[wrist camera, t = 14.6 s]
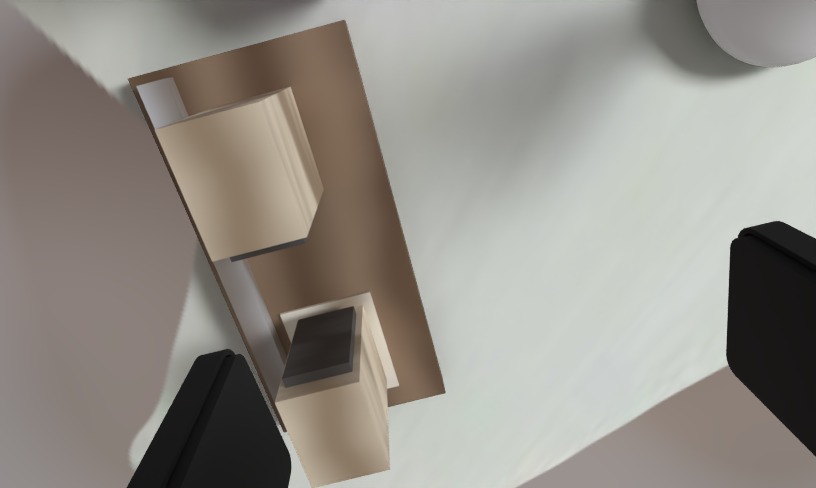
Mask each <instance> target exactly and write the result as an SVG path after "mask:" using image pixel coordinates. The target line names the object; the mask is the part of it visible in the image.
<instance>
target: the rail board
mask: <svg viewBox="0 0 816 488" xmlns="http://www.w3.org/2000/svg"><path fill="white" fill-rule="evenodd" d="M128 80H129V83H130V85H131V87H132V89H133V92H134V94H135V96H136V98H137V101H138V103H139V105H140V108H141V110H142V112H143V114H144V117H145V119H146V121H147V123H148V126H149V128H150V130H151V132H152V135H153V137H154V139H155V142H156V144H157V146H158V148H159V151H160V153H161V155H162V157H163V159H164V162H165V164H166V166H167V168H168V171H169V173H170V175H171V178H172V180H173V182H174V184H175V187H176V189H177V191H178V194H179V196H180V198H181V200H182V203H183V205H184V207H185V210H186V212H187V214H188V216H189V219H190V221H191V223H192V225H193V228H194V230H195V232H196V234H197V237H198V239H199V241H200V244H201V246H202V248H203V250H204V253H205V255H206V257H207V259H208V262H209V264H210V266H211V268H212V271H213V273H214V275H215V278H216V280H217V282H218V284H219V287H220V289H221V291H222V293H223V296H224V298H225V300H226V302H227V305H228V307H229V309H230V312H231V314H232V316H233V318H234V321H235V323H236V325H237V327H238V330H239V332H240V334H241V336H242V339H243V341H244V343H245V346H246V348H247V350H248V352H249V355H250V357H251V359H252V361H253V364H254V366H255V368H256V370H257V373H258V375H259V377H260V380H261V382H262V384H263V386H264V389H265V391H266V393H267V395H268V398H269V400H270V402H271V404H272V407H273V409H274V411H275V414H276V416H277V418H278V420H279V423H280V425H281V427H282V429H283V432H287V430H286V427H285V425H284V423H283V421H282V418H281V416H280V414H279V411H278V409H277V407H276V405H275V400H276V396H277V393H278V389H279V386H280V382H281V378H282V375H283V371H284V368H285V364H286V361H287V357H288V353H289V350H290V346H291V343H292V339H293V336H294V332H295V328H296V325H297V321H298V320H300V319H304V318H308V317H312V316H316V315H320V314H324V313H327V312H331V311H335V310H339V309H343V308H347V307H351V306H354V307H356V306H360V305H363V307H364V310H365V313H366V316H367V319H368V322H369V326H370V329H371V332H372V335H373V338H374V341H375V344H376V347H377V350H378V353H379V357H380V360H381V363H382V366H383V369H384V372H385V375H386V378H387V403H388V407H390V406H395V405H399V404H403V403H407V402H411V401H415V400H419V399H423V398H427V397H431V396H435V395H440V394H444V393H445V388H444V383H443V378H442V375H441V371H440V367H439V364H438V360H437V356H436V353H435V349H434V345H433V341H432V338H431V334H430V330H429V327H428V323H427V319H426V316H425V312H424V308H423V305H422V301H421V297H420V293H419V290H418V286H417V282H416V279H415V275H414V271H413V268H412V264H411V260H410V257H409V253H408V249H407V245H406V242H405V238H404V234H403V231H402V227H401V223H400V220H399V216H398V212H397V208H396V205H395V201H394V197H393V194H392V190H391V186H390V183H389V179H388V175H387V172H386V168H385V164H384V160H383V157H382V153H381V149H380V146H379V142H378V138H377V135H376V131H375V127H374V124H373V120H372V116H371V112H370V109H369V105H368V101H367V98H366V94H365V90H364V87H363V83H362V79H361V76H360V72H359V68H358V64H357V61H356V57H355V53H354V50H353V46H352V42H351V39H350V35H349V31H348V28H347V24H346V21H345V20H342V21H339V22H335V23H331V24H328V25H324V26H320V27H317V28H313V29H309V30H305V31H302V32H298V33H294V34H291V35H287V36H283V37H280V38H276V39H272V40H269V41H265V42H261V43H258V44H254V45H250V46H247V47H243V48H239V49H235V50H232V51H228V52H224V53H221V54H217V55H213V56H210V57H206V58H202V59H199V60H195V61H191V62H188V63H184V64H180V65H177V66H173V67H169V68H166V69H162V70H158V71H154V72H151V73H147V74H143V75H140V76H136V77H132V78H129V79H128ZM288 435H289V434H288Z"/></svg>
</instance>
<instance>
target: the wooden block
mask: <svg viewBox="0 0 816 488" xmlns="http://www.w3.org/2000/svg"><path fill="white" fill-rule="evenodd" d="M275 405H276V407H277V409H278V411H279V414H280V416H281V418H282V421H283V423H284V425H285V427H286V430H287V432H288V434H289V437H290V439H291V441H292V443H293V446H294V448H295V450H296V453H297V455H298V457H299V459H300V462H301V464H302V466H303V469H304V471H305V473H306V476H307V478H308V480H309V482H310V485H311V487H312V488H315V487H319V486H323V485H328V484H332V483H336V482H340V481H344V480H348V479H353V478H357V477H361V476H365V475H369V474H373V473H378V472H382V471H386V470H390V458H389V430H388V403H387V378H386V375H385V372H384V369H383V366H382V363H381V360H380V357H379V353H378V350H377V347H376V344H375V341H374V338H373V335H372V332H371V329H370V326H369V322H368V319H367V316H366V313H365V310H364V307H363V305H360V306H356V307H354V306H351V307H347V308H343V309H339V310H335V311H331V312H327V313H324V314H320V315H316V316H312V317H308V318H304V319H300V320H298V321H297V325H296V328H295V332H294V336H293V339H292V343H291V346H290V350H289V353H288V357H287V361H286V364H285V368H284V371H283V375H282V378H281V382H280V386H279V389H278V393H277V396H276V400H275Z"/></svg>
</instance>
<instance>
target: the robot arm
mask: <svg viewBox="0 0 816 488" xmlns="http://www.w3.org/2000/svg"><path fill="white" fill-rule="evenodd" d="M726 356H727V361H728V364H729V367H730V369H731V370H732V372H733V373H734V374H735V376H736V377H737V378H739V380H740V381H741V382H742V383H743V384H744V385H745V386H746V387H747V388H748V389H749V390H751V392H752V393H753V394H754V395H755V396H756V397H757V398H758V399H759V400H760V401H761V402H762V403H763V404H764V405H765V406H766V407H767V408H768V409H769V410H770V411H771V412H772V413H773V414H774V415H775V416H776V417H777V418H778V419H779V420H780V421H781V422H782V423H783V424H784V425H785V426H786V427H787V428H788V429H789V430H790V431H791V432H792V433H793V434H794V435H795V436H796V437H797V438H798V439H799V440H800V441H801V442H802V443H803V444H804V445H805V446H806V447H807V448H808V449H809V450H810V451H811V452H812V453H813V454H814V455H815V456H816V239H815V238H813V237H811V236H809V235H807V234H805V233H803V232H801V231H799V230H797V229H795V228H794V227H792V226H790V225H788V224H786V223H783V222H780V221H774V222H770V223H765V224H761V225H757V226H753V227H748V228H744V229H743V230H741V231H740V233H739V235H738V238H736V239H734V240H733V241H732V243H731V247H730V270H729V296H728V323H727V349H726ZM290 475H291V458H290V454H289V451H288V449H287V447H286V445H285V443H284V440H283V438H282V436H281V434H280V432H279V430H278V428H277V425H276V423H275V421H274V419H273V417H272V415H271V413H270V411H269V408H268V406H267V404H266V402H265V400H264V398H263V396H262V393H261V391H260V389H259V387H258V385H257V383H256V381H255V379H254V376H253V374H252V372H251V370H250V368H249V366H248V364H247V361H246V360H245V358H244V356H242V355H241V354H237V355H235V354H234V352H233V351H232V350H229V349H226V350H222V351H217V352H213V353H209V354H204V355H201V356H198V357H197V359H196V360H195V362H194V364H193V366H192V367H191V369H190V371H189V373H188V375H187V377H186V379H185V380H184V382H183V384H182V386H181V388H180V390H179V392H178V393H177V395H176V397H175V399H174V401H173V403H172V405H171V406H170V408H169V410H168V412H167V414H166V416H165V418H164V419H163V421H162V423H161V425H160V427H159V429H158V431H157V432H156V434H155V436H154V438H153V440H152V442H151V444H150V445H149V447H148V449H147V451H146V453H145V455H144V457H143V458H142V460H141V462H140V464H139V466H138V468H137V470H136V471H135V473H134V475H133V477H132V479H131V481H130V483H129V484H128V487H127V488H288V485H289V480H290Z"/></svg>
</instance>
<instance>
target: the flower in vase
mask: <svg viewBox="0 0 816 488" xmlns="http://www.w3.org/2000/svg"><path fill="white" fill-rule="evenodd" d="M696 1H697V6H698V10H699V13H700V16H701V18H702V21H703V23H704V25H705V27H706V29H707V31H708V32H709V34H710V36H711V37H712V38H713V40H714V41H715V42H716V43H717V44H718V46H720V47H721V48H722V49H723V50H724V51H725V52H726V53H728V54H729V55H731V56H733V57H734V58H736V59H738V60H740V61H743V62H745V63H747V64H751V65H756V66H761V67H782V66H788V65H793V64H798V63H801V62H803V61H806V60H809V59H812V58H814V57H816V0H696Z"/></svg>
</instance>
